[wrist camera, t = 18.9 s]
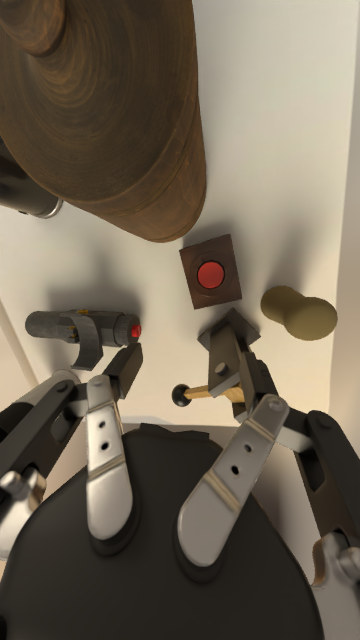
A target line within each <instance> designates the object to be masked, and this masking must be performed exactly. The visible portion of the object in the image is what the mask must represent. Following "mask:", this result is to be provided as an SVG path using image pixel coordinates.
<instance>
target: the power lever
mask: <svg viewBox="0 0 360 640" xmlns="http://www.w3.org/2000/svg"><path fill="white" fill-rule="evenodd" d="M220 395H225V396H226V397H227V398H228V399H229V400H230V401H231V402H232V403H236V402H245V400H244V395H243V390H242V385H241V381H240V382H239V383H237V384H235V385H234V386H232V387H231V388H229V389H228V390H226V391H225V392H223V393H222V394H220ZM220 395H218V396H220ZM203 397H211V395H210V394H209V393H208V385H205V386H201V387H196V388H191V389H190V387H189V386H187V385H185V384H179V385H177V386H176V387H175V388H174V389H173V391H172V400H173V402H174V403H175V404H176V405H177V406H180V407H184V406H187V405H188V404H189V403H190V402H191V400H192V399H194V398H203Z"/></svg>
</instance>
